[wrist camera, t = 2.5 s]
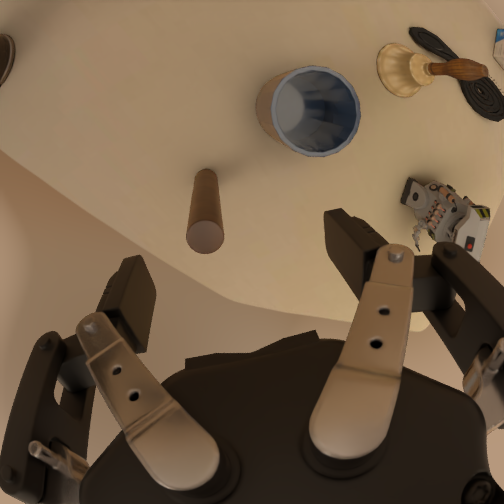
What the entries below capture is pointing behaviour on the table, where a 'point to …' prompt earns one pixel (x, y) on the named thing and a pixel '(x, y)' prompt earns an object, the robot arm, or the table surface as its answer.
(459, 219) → the figurine
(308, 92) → the cup
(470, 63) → the hand bell
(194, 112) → the table surface
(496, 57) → the ink box
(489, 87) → the hairbrush
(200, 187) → the stick
